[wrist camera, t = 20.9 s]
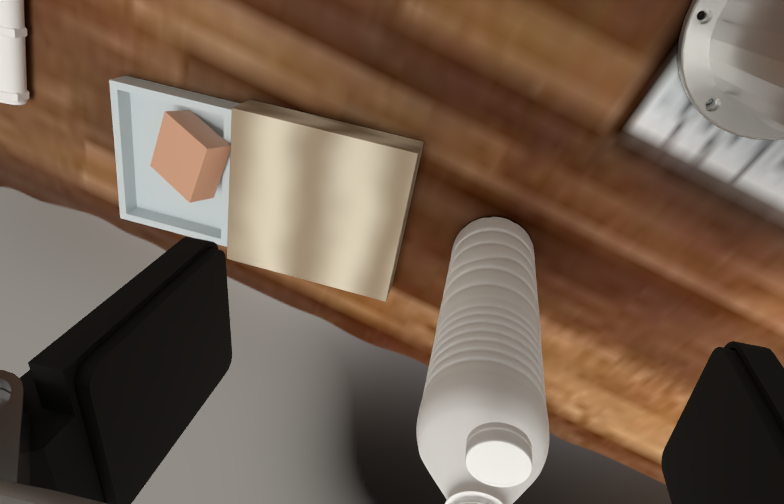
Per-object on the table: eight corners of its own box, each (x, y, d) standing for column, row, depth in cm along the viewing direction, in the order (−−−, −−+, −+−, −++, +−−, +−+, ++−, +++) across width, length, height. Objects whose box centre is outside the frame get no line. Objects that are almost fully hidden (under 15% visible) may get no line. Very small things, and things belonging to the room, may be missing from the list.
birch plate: (423, 141, 40) (418, 153, 38) (392, 283, 47) (385, 301, 44) (249, 99, 41) (232, 108, 39) (242, 242, 48) (227, 258, 45)
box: (243, 104, 42) (231, 109, 40) (237, 236, 48) (227, 246, 46) (125, 75, 42) (109, 79, 41) (134, 209, 48) (120, 217, 47)
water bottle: (522, 292, 45) (534, 599, 23) (446, 276, 45) (387, 559, 24) (551, 197, 40) (598, 464, 19) (466, 181, 41) (417, 421, 19)
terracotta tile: (231, 146, 41) (207, 148, 39) (213, 197, 43) (189, 202, 41) (190, 110, 42) (164, 111, 40) (175, 162, 45) (150, 165, 43)
